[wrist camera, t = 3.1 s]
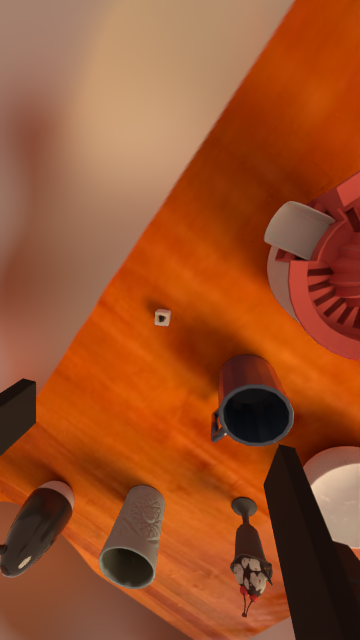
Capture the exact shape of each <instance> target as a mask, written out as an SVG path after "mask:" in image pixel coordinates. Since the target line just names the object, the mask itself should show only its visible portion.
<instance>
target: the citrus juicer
mask: <svg viewBox="0 0 360 640" xmlns="http://www.w3.org/2000/svg"><path fill="white" fill-rule="evenodd" d="M264 241H265V242H266V243H268V244H270V245H272V247H271V249H270V253H269V257H268V264H267V273H268V280H269V285H270V287H271V290H272V293H273V295H274V296H275V298H276V300H277V301H278V303H279V304H280V305H281V306H282V308H283V309H284V310H285V311H286V312H287V313H288V314H289V315H290V316H292V317H293V318H294V319H295V320H296V321H297V322H299V323H300V324H301V325H302V327H303V328H304V330H305V331H306V332H307V333H308V334H309V335H310V336H311V337H312V338H313V339H314V340H315V341H316V342H317V343H318V344H320V345H321V346H323V347H325V348H326V349H328V350H329V351H331V352H333V353H335V354H338V355H340V356H343V357H345V358H348V359H352V360H357V361H360V171H358V172H357V173H355V174H354V175H352V176H351V177H349V178H348V179H347V180H345V181H344V182H342V183H341V184H339V185H338V186H337V187H335V188H333V189H331V190H330V191H328V192H326V193H324V194H323V195H321V196H319V197H317V198H316V199H314V200H312V201H310V202H309V203H308V204H307V205H303V204H301V203H298V202H295V201H289V202H286V203H285V204H284V205H283V206H282V207H281V208H280V209H279V210H278V211H277V212H276V214H275V215H274V216H273V218H272V220H271V221H270V223H269V225H268V227H267V230H266V232H265V236H264Z"/></svg>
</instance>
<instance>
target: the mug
mask: <svg viewBox="0 0 360 640" xmlns="http://www.w3.org/2000/svg"><path fill="white" fill-rule="evenodd" d="M218 400H219V408H218V409H217V410H215V411H214V412H213V413H212V423H211V440H212V442H214V443H217V442H218V441H219V440H221V439H222V438H223V437H224V436H226V435H227V434H228V435H229V436H230V437H231V438H232V439H233V440H235V441H237V442H240V443H242V444H245V445H247V446H261V447H262V446H266V445H270V444H274V443H276V442H278V441H279V440H281V439H282V438H283V437H285V436H286V435H287V434H288V432H289V430H290V429H291V427H292V425H293V420H294V410H293V408H292V406H291V403H290V401H289V399H288V397H287V395H286V393H285V391H284V389H283V387H282V385H281V383H280V381H279V379H278V377H277V374H276V372H275V370H274V368H273V367H272V366H271V365H270V364H269V363H268V362H267V361H266V360H265V359H263V358H261V357H259V356H256V355H249V354H245V355H239V356H235V357H233V358H231V359H230V360H228V361H227V362H226V363H225V364H224V365H223V367H222V368H221V370H220V373H219V376H218ZM219 422H220V424H221V426H222V427H221V428H220V429H219Z"/></svg>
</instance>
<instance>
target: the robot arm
mask: <svg viewBox="0 0 360 640" xmlns="http://www.w3.org/2000/svg"><path fill="white" fill-rule="evenodd" d="M35 423H36V382H35V381H31V380H27V379H22V380H20V381H18V382H17V383H15V384H14V385H12V386H11V387H9V388H7V389H6V390H4V391H3V392H1V393H0V456H1V455H2V454H3V453H4V452H5V451H6V450H7V449H8V448H10V447H11V446H12V445H13V444H14V443H15V442H16V441H17V440H18V439H19V438H20V437H21V436H22V435H23V434H24V433H26V432H27V431H28V430H29V429H30V428H31V427H32V426H33V425H34V424H35ZM264 490H265V495H266V500H267V504H268V509H269V514H270V519H271V524H272V528H273V533H274V538H275V543H276V547H277V552H278V557H279V562H280V567H281V571H282V576H283V581H284V586H285V591H286V595H287V600H288V605H289V610H290V615H291V619H292V624H293V629H294V634H295V638H296V640H360V561H359V559H358V558H357V557H356V555H355V554H354V553H353V551H352V550H351V548H350V547H349V546H348V545H346V544H343V543H339V542H336V541H333V540H332V537H331V535H330V532H329V530H328V528H327V525H326V523H325V520H324V518H323V515H322V513H321V511H320V508H319V506H318V503H317V501H316V498H315V496H314V494H313V491H312V489H311V486H310V484H309V481H308V479H307V476H306V474H305V472H304V469H303V467H302V464H301V462H300V459H299V457H298V455H297V452H296V450H295V448H292V447H289V446H285V445H281V444H279V446H278V448H277V451H276V454H275V456H274V459H273V461H272V464H271V467H270V469H269V472H268V475H267V477H266V480H265V482H264Z"/></svg>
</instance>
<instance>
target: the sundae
mask: <svg viewBox="0 0 360 640" xmlns="http://www.w3.org/2000/svg"><path fill="white" fill-rule="evenodd" d="M232 509H233V510H234V512H235V513H236V514H238V515H241V516H242V519H243V524H242V525H240V527H239V528H238V529H237V532H236V540H235V558H234V560H233V562H232V563H231V566H230V569H231V570H232V572H233V574H234V575H235V578H236V580H237V582H238V583H239V585H240V586H241V587H240V592H241V594H242V595H243V596H244V601H245V596H247V595H248V594H249V595H250V599H251V602H250V604H249V606H250V605H251V603H252V602H256V601H257V598H258V596H260V595H262V593H263V592H264V590H265V587H266V582H267V581H269V583H270V584H271V585H273V584H272V582H271V580H270V579H271V577H272V573H273V572H272V565H271V563H269V562H267V561H266V559H265V556H264V552H263V548H262V545H261V541H260V538H259V535H258V532H257V530H256V529H255V528H254V527H253V526H251V525H250V524H249V516H252V515H253V514H255V512H256V511H257V506H256V504H255V503H254V502H253V501H252V500H250V499H248V498H238V499H236V500H235V501H233V503H232ZM249 606H248V608H249ZM245 608H246V601H245ZM248 608H247V611H248ZM242 617H247V612H246V614H245V609H244V613H243V614H242Z"/></svg>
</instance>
